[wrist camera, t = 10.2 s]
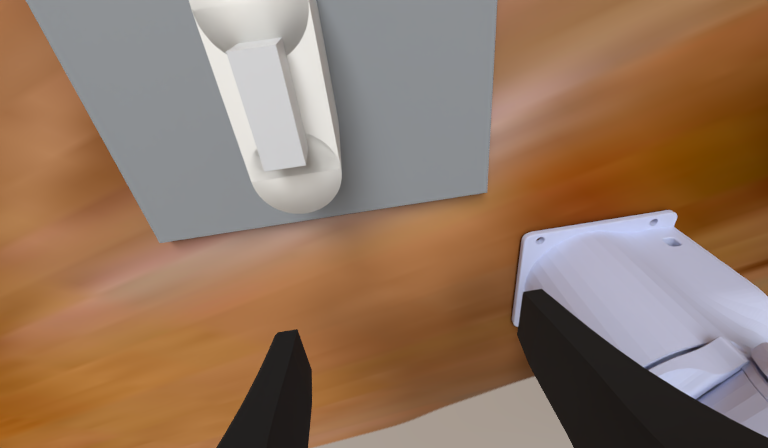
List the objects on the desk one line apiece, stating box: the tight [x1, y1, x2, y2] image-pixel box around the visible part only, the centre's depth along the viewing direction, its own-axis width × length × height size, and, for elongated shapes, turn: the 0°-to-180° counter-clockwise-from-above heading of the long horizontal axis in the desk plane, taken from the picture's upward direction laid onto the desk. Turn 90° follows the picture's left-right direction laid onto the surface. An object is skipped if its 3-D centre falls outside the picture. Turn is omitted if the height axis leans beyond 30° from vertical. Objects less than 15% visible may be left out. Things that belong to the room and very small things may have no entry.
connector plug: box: [189, 0, 342, 214], centre depth 13 cm, size 3×8×6 cm, turn 6°
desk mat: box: [26, 0, 497, 243], centre depth 15 cm, size 17×15×1 cm
